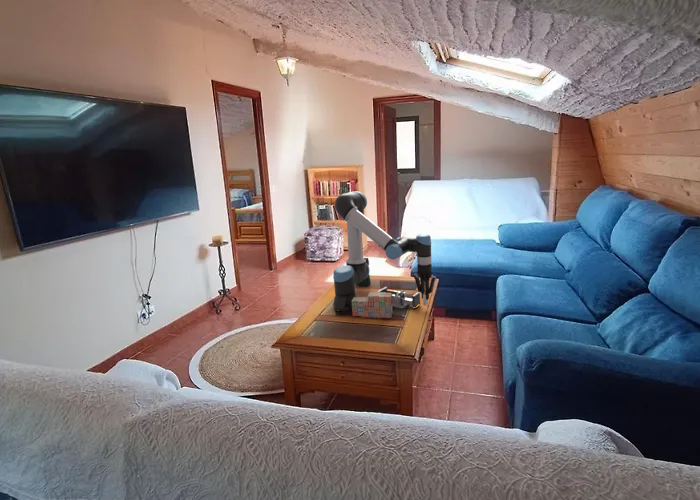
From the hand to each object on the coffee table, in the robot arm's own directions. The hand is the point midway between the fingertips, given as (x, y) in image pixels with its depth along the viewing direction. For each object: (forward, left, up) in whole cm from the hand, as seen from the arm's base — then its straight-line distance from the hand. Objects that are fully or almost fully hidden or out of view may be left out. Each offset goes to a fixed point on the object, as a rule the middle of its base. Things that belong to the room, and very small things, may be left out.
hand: (425, 304), depth 223 cm
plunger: (0, +13, -3) cm, 13 cm away
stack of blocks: (-20, +22, -3) cm, 30 cm away
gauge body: (0, +19, -3) cm, 20 cm away
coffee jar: (+19, +55, -3) cm, 58 cm away
